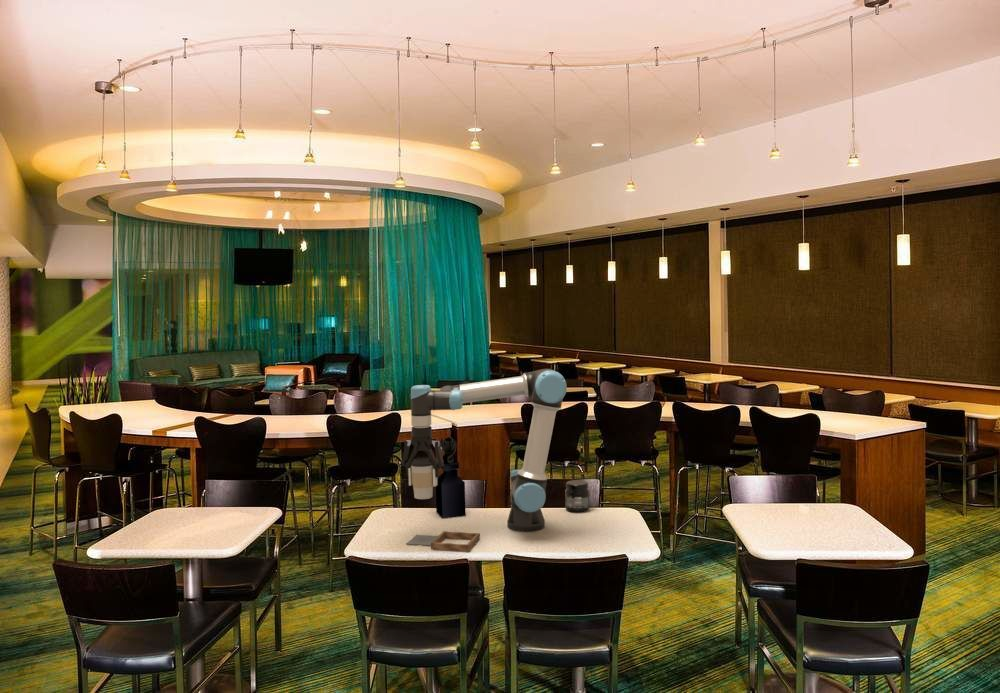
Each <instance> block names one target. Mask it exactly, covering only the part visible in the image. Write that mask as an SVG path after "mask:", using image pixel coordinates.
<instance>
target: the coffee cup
mask: <svg viewBox="0 0 1000 693" xmlns="http://www.w3.org/2000/svg"><path fill="white" fill-rule="evenodd" d="M410 467H411V469H412V471H411V473H412V482H413V484H412V489H413V495H414V496H413V497H414V499H417V500H428V499H431V498H433V491H434V487H433V469H434V466H433V464H432V462H431V460H430V458H429V456H419V457H415V458H414V459H413V461H412V462H411V466H410Z"/></svg>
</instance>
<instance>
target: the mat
mask: <svg viewBox="0 0 1000 693" xmlns="http://www.w3.org/2000/svg"><path fill="white" fill-rule="evenodd" d="M438 536H439V535H429V534H416V535H414V536H413V537H412V538H411V539H409V540H408V541H407V542H406V543H405V545H406V544H407V545H406V546H417V545H422V546H421V547H431V543H432V542H433V541H434V540H435V539H436V538H437V537H438ZM408 544H409V545H408Z"/></svg>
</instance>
